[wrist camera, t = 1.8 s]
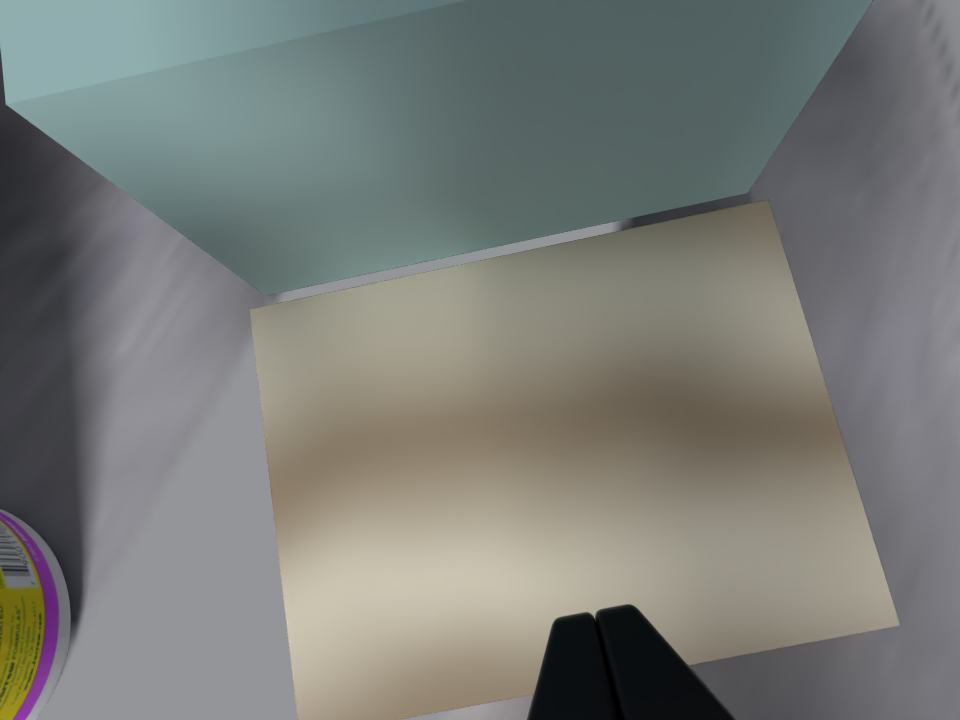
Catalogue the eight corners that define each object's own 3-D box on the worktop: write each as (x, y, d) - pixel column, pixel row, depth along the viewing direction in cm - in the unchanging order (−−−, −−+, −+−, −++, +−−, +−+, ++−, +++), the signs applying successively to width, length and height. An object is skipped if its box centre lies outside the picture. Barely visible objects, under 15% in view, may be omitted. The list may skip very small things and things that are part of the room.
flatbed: (872, 621, 19) (899, 625, 17) (321, 725, 20) (300, 738, 18) (753, 226, 22) (768, 199, 20) (271, 327, 22) (249, 309, 21)
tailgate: (747, 193, 20) (943, -108, 10) (265, 295, 20) (6, 104, 11) (723, 102, 20) (887, -270, 11) (251, 204, 21) (-11, -59, 11)
